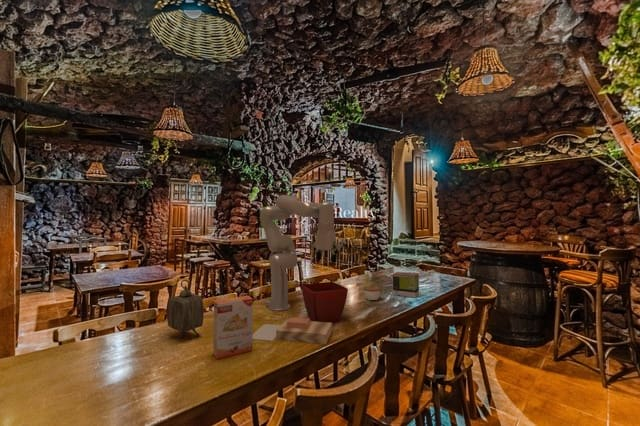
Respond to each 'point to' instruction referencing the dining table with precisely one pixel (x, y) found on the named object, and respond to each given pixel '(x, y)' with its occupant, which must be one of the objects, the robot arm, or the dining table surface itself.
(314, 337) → the board
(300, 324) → the block
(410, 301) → the dining table surface
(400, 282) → the tea box
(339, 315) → the plant pot
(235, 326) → the cracker box
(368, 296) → the lidded jar
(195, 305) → the tabletop clock
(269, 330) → the mat
